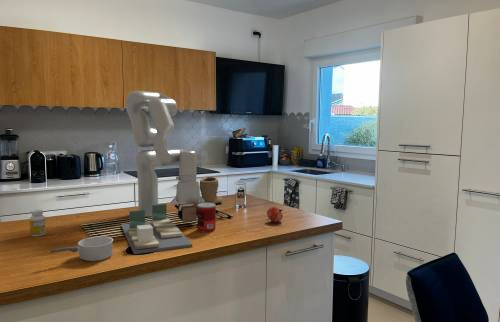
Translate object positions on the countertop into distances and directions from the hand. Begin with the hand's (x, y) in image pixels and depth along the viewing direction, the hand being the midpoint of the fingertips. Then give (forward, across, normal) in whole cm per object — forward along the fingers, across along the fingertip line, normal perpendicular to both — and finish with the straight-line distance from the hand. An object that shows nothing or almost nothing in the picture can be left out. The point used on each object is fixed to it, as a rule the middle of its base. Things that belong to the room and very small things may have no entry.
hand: (187, 217), depth 175 cm
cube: (+1, 0, 0) cm, 1 cm away
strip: (+2, -12, -8) cm, 14 cm away
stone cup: (+3, +23, +35) cm, 42 cm away
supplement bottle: (+3, -60, +8) cm, 61 cm away
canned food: (+3, +5, -11) cm, 13 cm away
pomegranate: (+3, +38, -11) cm, 40 cm away
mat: (+3, -18, -12) cm, 21 cm away
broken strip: (+2, -23, -17) cm, 29 cm away
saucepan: (+3, -44, -29) cm, 53 cm away
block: (0, -23, -23) cm, 33 cm away
